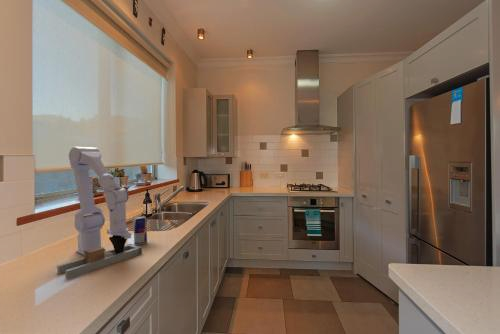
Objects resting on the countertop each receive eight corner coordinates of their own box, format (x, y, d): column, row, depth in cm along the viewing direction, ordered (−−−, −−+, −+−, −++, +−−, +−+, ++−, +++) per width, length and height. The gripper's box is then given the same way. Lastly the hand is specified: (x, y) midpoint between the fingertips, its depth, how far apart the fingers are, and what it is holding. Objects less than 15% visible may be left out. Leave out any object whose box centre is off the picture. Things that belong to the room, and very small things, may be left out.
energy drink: (142, 245, 113) (141, 218, 112) (131, 245, 114) (130, 218, 114) (149, 241, 118) (148, 216, 118) (139, 241, 119) (138, 215, 119)
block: (84, 266, 92) (83, 250, 92) (109, 258, 99) (109, 242, 99) (90, 269, 89) (89, 252, 89) (115, 260, 97) (115, 244, 96)
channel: (57, 272, 87) (57, 265, 87) (130, 249, 108) (130, 243, 108) (67, 279, 82) (67, 271, 82) (141, 253, 103) (141, 247, 103)
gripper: (137, 219, 99) (139, 254, 99) (118, 215, 107) (119, 247, 107) (119, 223, 93) (121, 260, 93) (100, 219, 101) (102, 252, 102)
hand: (119, 253), depth 100 cm, fingers closed
